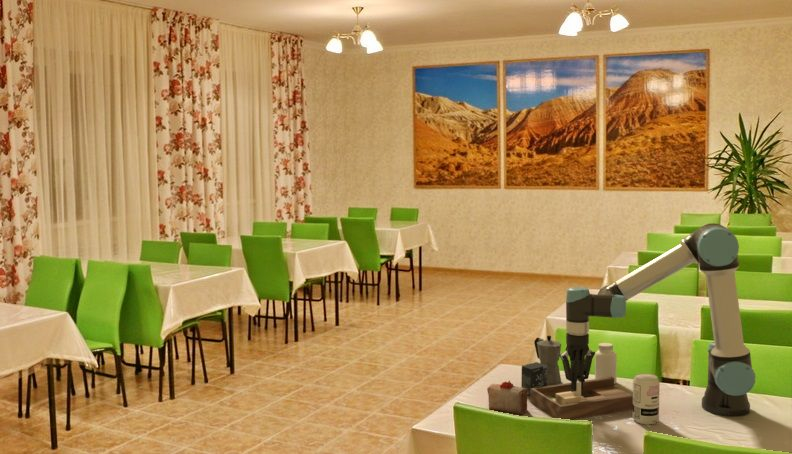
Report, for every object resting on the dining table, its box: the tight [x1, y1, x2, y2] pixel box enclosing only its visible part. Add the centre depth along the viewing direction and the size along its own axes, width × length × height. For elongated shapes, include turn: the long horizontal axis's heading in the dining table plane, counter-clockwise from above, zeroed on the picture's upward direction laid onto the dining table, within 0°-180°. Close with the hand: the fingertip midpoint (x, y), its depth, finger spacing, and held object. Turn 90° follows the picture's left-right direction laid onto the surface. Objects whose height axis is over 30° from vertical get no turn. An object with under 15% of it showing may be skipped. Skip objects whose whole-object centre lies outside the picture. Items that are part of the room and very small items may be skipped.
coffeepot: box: [533, 335, 562, 386], centre depth 285 cm, size 15×9×18 cm, turn 26°
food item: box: [486, 380, 528, 415], centre depth 256 cm, size 14×8×10 cm, turn 60°
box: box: [521, 361, 548, 397], centre depth 272 cm, size 8×6×11 cm
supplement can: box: [632, 373, 661, 426], centre depth 242 cm, size 8×8×15 cm
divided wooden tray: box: [530, 377, 633, 420], centre depth 259 cm, size 20×34×5 cm, turn 109°
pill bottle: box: [594, 342, 618, 385], centre depth 281 cm, size 8×8×15 cm
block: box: [556, 391, 580, 405], centre depth 252 cm, size 6×6×4 cm
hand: (577, 399), depth 253 cm, fingers closed
